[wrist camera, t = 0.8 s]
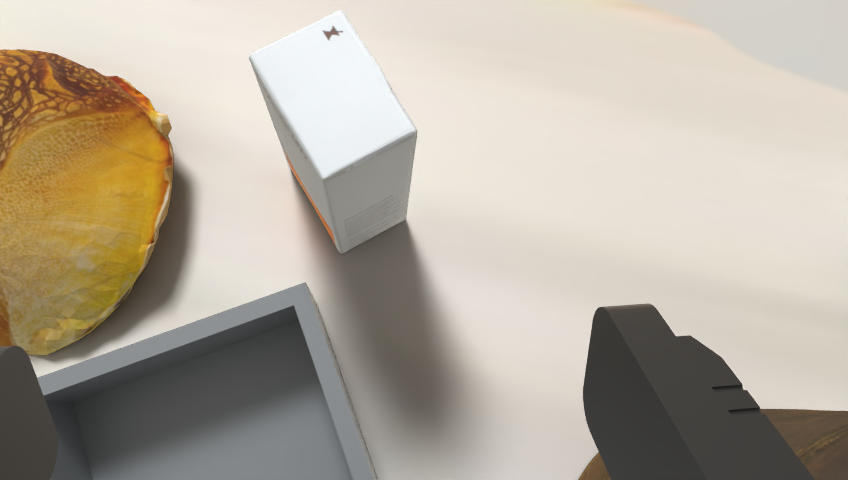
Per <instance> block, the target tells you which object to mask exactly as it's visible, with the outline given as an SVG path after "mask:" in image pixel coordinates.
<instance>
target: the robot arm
mask: <svg viewBox="0 0 848 480" xmlns="http://www.w3.org/2000/svg"><path fill="white" fill-rule="evenodd" d="M583 402H584V411H585V416H586V420H587V424H588V427H589V430H590V432H591V435H592V437H593V439H594V442H595V444H596V446H597V448H598V451H599V453H600V455H601V458H602V460H603V462H604V465H605V467H606V469H607V471H608V474H609V476H610V478H611V480H815V479H814V477H813V476H812V475H811V473H810V472H809V471H808V469H807V468H806V467H805V466H804V464H803V463H802V462H801V460H800V459H799V458H798V456H797V455H796V454H795V453H794V451H793V450H792V449H791V447H790V446H789V445H788V443H787V442H786V441H785V439H784V438H783V437H782V436H781V434H780V433H779V432H778V430H777V429H776V428H775V426H774V425H773V424H772V423H771V421H770V420H769V419H768V417H767V416H766V415H765V413H762V414H761V412H760V407H759V406H758V404H757V403H756V402H755V400H754V399H753V398H752V396H751V395H750V394H749V393H748V391H747V390H743V388H742V383H741V382H740V381H739V379H738V378H737V377H736V376H735V374H734V373H733V372H732V370H731V369H730V368H729V366H728V365H727V364H726V363H725V361H724V360H723V359H722V357H720V356H719V355H717V354H716V353H714V352H713V351H712V350H710V349H709V348H707V347H706V346H704V345H703V344H702V343H700V342H699V341H697V340H696V339H694V338H693V337H692V336H678V337H676V336H675V335H674V333H673V332H672V330H671V329H670V327H669V326H668V325H667V323H666V322H665V320H664V319H663V318H662V316H661V315H660V313H659V312H658V310H657V309H656V308H655V307H654V306H653V305H651V304H637V305H623V306H608V307H599V308H598V309H597V310H596V312H595V314H594V318H593V323H592V330H591V337H590V344H589V351H588V358H587V365H586V372H585V379H584V387H583ZM57 451H58V439H57V432H56V428H55V425H54V422H53V419H52V417H51V414H50V411H49V409H48V406H47V403H46V401H45V398H44V395H43V393H42V390H41V387H40V385H39V382H38V379H37V377H36V374H35V371H34V369H33V366H32V364H31V361H30V359H29V356H28V354H27V353H26V351H25V350H24V349H23V348H21V347H19V346H3V347H0V480H50V478H51V476H52V473H53V471H54V468H55V464H56V459H57Z"/></svg>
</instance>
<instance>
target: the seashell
mask: <svg viewBox="0 0 848 480" xmlns="http://www.w3.org/2000/svg"><path fill="white" fill-rule="evenodd" d="M170 130H171V125H170V122H169V119H168V116H167V115H165V114H163V113H160V112H157V111H155V109H154V108H153V106H152V104H151V102H150V100H149V99H148V98H147V97H146V96H144V95H143V94H142V93H141V92H139V91H138V90H136V89H135V88H134V87H133V86H132V85H131V84H130V83H129V82H128V81H126V80H125V79H122V78H119V77H118V76H110V77H109V76H104V75H102V74H100V73H98V72H97V71H95V70H94V69H88V68H86V67H84V66H82V65H80V64H78V63H75V62H73V61H71V60H69V59H66V58H64V57H62V56H59V55H57V54H53V53H47V52H41V51H31V50H20V49H18V50H0V347H3V346H19V347H21V348H23V349H24V350H25V351H26V353H27V354H28V355H30V354H33V355H48V354H50V353H53V352H55V351H57V350H59V349H61V348H63V347H65V346H67V345H69V344H71V343H74V342H76V341H78V340H80V339H81V338H83V337H84V336H85V335H87V334H88V333H90V332H91V331H93V330H94V329H95V328H96V327H97V326H98V325H100V324H101V323H102V322H103V321H104V320H105V319H106V318H107V317H108V316H109V315H111V313H112V312H113V311H114V310H115V309H116V308H117V307H118V306H119V304H120V303H121V302H123V301H124V300H125V298H126V297H127V295H128V294H129V292H130V291H131V289H132V287H133V284H134V283H135V281H136V280H137V278H138V277H139V275H140V274H141V273H142V271H143V270H144V269H145V267H146V266H147V265H148V261H149V258H150V256H151V254H152V252H153V250H154V247H155V243H156V241H157V239H158V236H159V228H160V226H161V225H162V224H163V222H164V220H165V218H166V216H167V213H168V208H169V203H170V198H171V189H172V179H173V159H174V155H173V150H172V145H171V143H170V140H169V137H168V134H169V132H170Z"/></svg>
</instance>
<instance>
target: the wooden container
mask: <svg viewBox="0 0 848 480" xmlns="http://www.w3.org/2000/svg"><path fill="white" fill-rule="evenodd" d="M760 412H761V414H762V413H765V415H766V416H767V417H768V419H769V420H770V421H771V423H772V424H773V425H774V426H775V428H776V429H777V430H778V432H779V433H780V434H781V436H782V437H783V438H784V439H785V441H786V442H787V443H788V445H789V446H790V447H791V449H792V450H793V451H794V453H795V454H796V455H797V456H798V458H799V459H800V460H801V462H802V463H803V464H804V466H805V467H806V468H807V469H808V471H809V472H810V473H811V475H812V476H813V477H814V479H815V480H848V411H819V410H799V409H760ZM579 480H611V478H610V476H609V474H608V471H607V469H606V467H605V465H604V462H603V460H602V458H601V455H600V453H599V452H598V454H597V455H596V456H595V457H594V458H593V459H592V460H591V462H590V463H589V464H588V466H587V467H586V468H585V470H584V471H583V473H582V474H581V476H580V478H579Z"/></svg>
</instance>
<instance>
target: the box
mask: <svg viewBox="0 0 848 480" xmlns="http://www.w3.org/2000/svg"><path fill="white" fill-rule="evenodd" d="M37 379H38V382H39V385H40V387H41V390H42V393H43V395H44V398H45V401H46V403H47V406H48V409H49V411H50V414H51V417H52V419H53V422H54V425H55V428H56V432H57V439H58V451H57V459H56V464H55V468H54V471H53V473H52V476H51V478H50V480H378V478H377V476H376V473H375V470H374V467H373V464H372V461H371V458H370V456H369V453H368V450H367V447H366V444H365V441H364V438H363V435H362V433H361V430H360V427H359V424H358V421H357V418H356V415H355V413H354V410H353V407H352V404H351V401H350V398H349V395H348V393H347V390H346V387H345V384H344V381H343V378H342V375H341V372H340V370H339V367H338V364H337V361H336V358H335V355H334V352H333V350H332V347H331V344H330V341H329V338H328V335H327V332H326V329H325V327H324V324H323V321H322V318H321V315H320V312H319V309H318V307H317V304H316V301H315V299H314V297H313V295H312V294H311V292H310V290H309V288H308V286H307V284H306V282H305V283H302V284H299V285H297V286H294V287H291V288H288V289H285V290H283V291H280V292H277V293H274V294H271V295H269V296H266V297H263V298H260V299H257V300H255V301H252V302H249V303H246V304H243V305H241V306H238V307H235V308H232V309H229V310H226V311H224V312H221V313H218V314H215V315H212V316H210V317H207V318H204V319H201V320H198V321H196V322H193V323H190V324H187V325H184V326H182V327H179V328H176V329H173V330H170V331H168V332H165V333H162V334H159V335H156V336H154V337H151V338H148V339H145V340H142V341H140V342H137V343H134V344H131V345H128V346H126V347H123V348H120V349H117V350H114V351H112V352H109V353H106V354H103V355H100V356H98V357H95V358H92V359H89V360H86V361H84V362H81V363H78V364H75V365H72V366H69V367H67V368H64V369H61V370H58V371H55V372H53V373H50V374H47V375H44V376H41V377H39V378H37Z"/></svg>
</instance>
